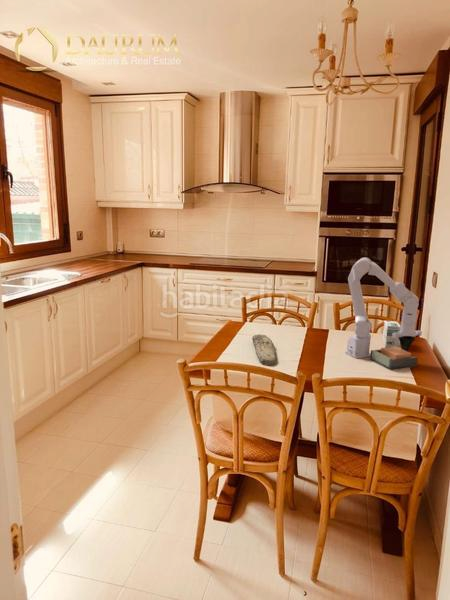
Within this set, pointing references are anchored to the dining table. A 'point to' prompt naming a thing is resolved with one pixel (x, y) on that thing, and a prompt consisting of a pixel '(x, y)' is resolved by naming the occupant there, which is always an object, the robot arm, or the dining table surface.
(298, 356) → the dining table surface
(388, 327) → the light bulb box
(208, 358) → the dining table surface
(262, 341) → the elongated rock
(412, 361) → the roller bed
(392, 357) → the slab
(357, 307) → the robot arm
